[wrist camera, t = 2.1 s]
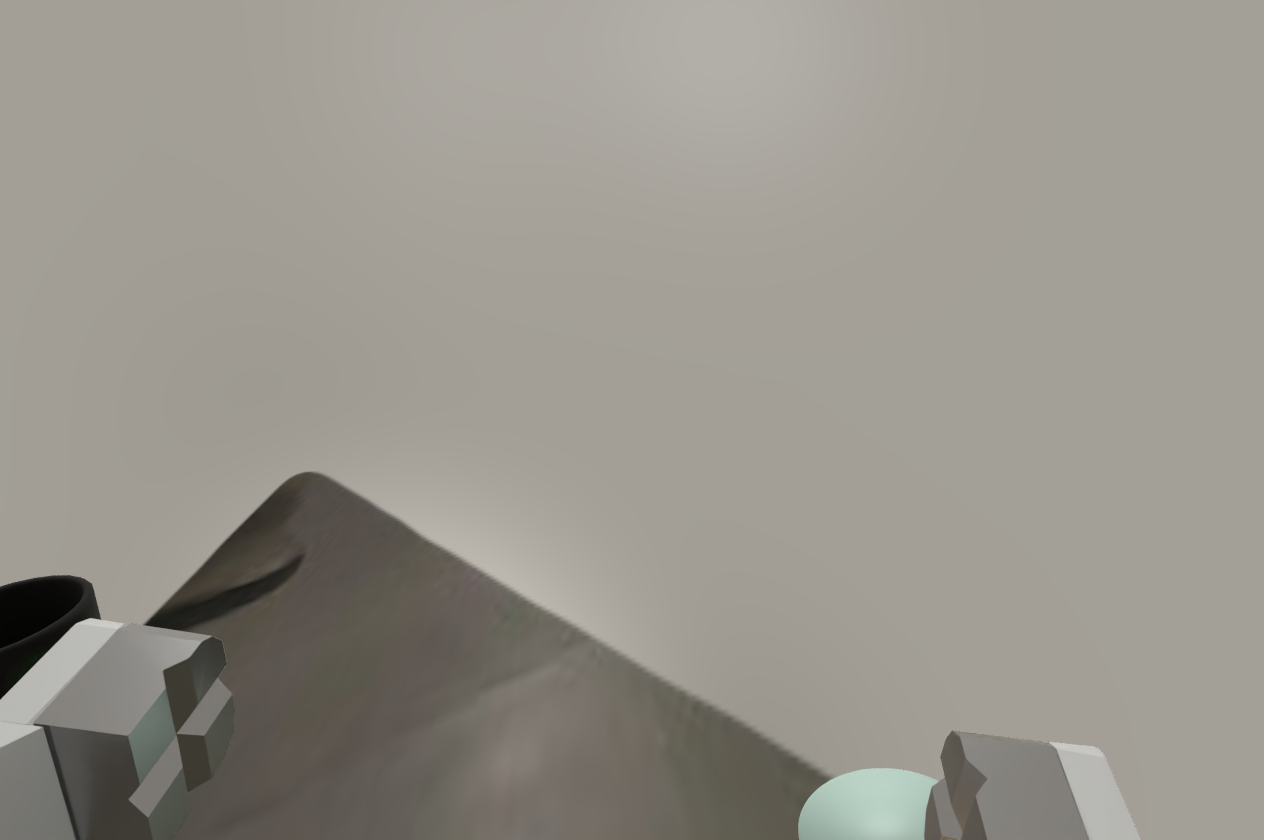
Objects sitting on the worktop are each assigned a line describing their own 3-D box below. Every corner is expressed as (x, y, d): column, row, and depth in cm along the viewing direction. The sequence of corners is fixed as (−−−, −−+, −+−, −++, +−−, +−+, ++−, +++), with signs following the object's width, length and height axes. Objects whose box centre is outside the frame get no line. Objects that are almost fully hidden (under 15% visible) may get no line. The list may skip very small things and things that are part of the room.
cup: (-53, 905, 42) (-165, 669, 38) (81, 784, 49) (-2, 574, 45) (88, 921, 40) (-15, 673, 36) (207, 792, 47) (131, 573, 43)
